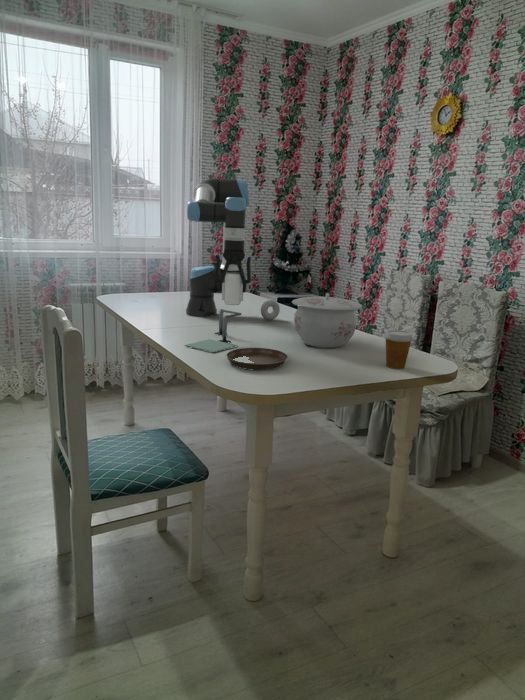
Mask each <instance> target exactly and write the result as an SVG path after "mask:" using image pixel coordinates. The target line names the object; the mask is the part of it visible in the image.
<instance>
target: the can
mask: <svg viewBox="0 0 525 700" xmlns="http://www.w3.org/2000/svg"><path fill="white" fill-rule="evenodd" d="M241 281H242V279H241V276H240V273H237V272H226V275H225V287H224V300H223V303H224V305H226V306H227V305H229V306H239V305H241V304H242V303H241V302H242V301H240V290H241Z"/></svg>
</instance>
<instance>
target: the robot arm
mask: <svg viewBox="0 0 525 700" xmlns="http://www.w3.org/2000/svg"><path fill="white" fill-rule="evenodd" d="M249 195H250V194H249V188H248V182H247V181H246V180H243V179H239V178H217V177H213V178H208V179H205V180H202V181H200V182H199V183H198V184H197V185H196V186H195V188H194V190H193V199H194V200H191V201H187V205H186V206H187V208H186V212H187V216H186V217H187V220H188V221H189V222H197V223H199V222H200V223H201V222H202V223H220V224H222V223H223V230H222V231H223V232H222V253H221V254H216V255H215V259H216V267H215V266H214V265H205V266H197V267H193V268H192V269H191V270H190V274H189V275H190V276H189V284H190V285H189V286H190V287H189V300H188V303H187V306H186V308H185V314H186V315H187V316H192V317H213V316H214V315H215V316H217V314H218V309H217V306H216V302H215V298H214V297H215V294H221V301H224V287H225V275H226V272H237V273H240V276H241V279H242V281H241V290H240V301H241V302H243V301H244V294H245V293H246V292H247V284H250V283H251V282H252V269H251V266H252V265H251V263H252V259H253V258H252V256H249V255H246V254H245V241H244V240H245V237H246V236H245V235H246V234H245V233H246V229H245V228H246V227H245V226H246V210H247V208H248V207H249V206H250V198H249V197H250V196H249ZM243 260H245V262H246V270H244V266H243V264H242V261H243ZM215 316H214V317H215Z"/></svg>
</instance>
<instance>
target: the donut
mask: <svg viewBox="0 0 525 700" xmlns="http://www.w3.org/2000/svg"><path fill="white" fill-rule="evenodd" d="M270 307H271V308H272V311H271V312H270V313H269V311H268V310H269V308H270ZM280 307H281V306H280V304H279V303H278V302H277V301H276V300H274V299H267V300H265V301H264V302H263V303H262V304H261V306H260V314H261V316H262V318H263V319H264V320H267V321H272V320H275V319H276V318H277V317H278V316H279V314H280V310H281V309H280Z"/></svg>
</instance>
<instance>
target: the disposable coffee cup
mask: <svg viewBox="0 0 525 700" xmlns="http://www.w3.org/2000/svg"><path fill="white" fill-rule="evenodd" d="M384 338H385V366H386V367H387V368H390V369H393V370H395V369H396V370H403V369H405V367H406V363H407V360H408V355H409V351H410V347H411V344H412V341H413V339H414V337H413V333H411V332H410V331H406V330H400V329H399V330H398V329H392V330H389V329H388V330H387V331H385V334H384Z"/></svg>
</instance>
